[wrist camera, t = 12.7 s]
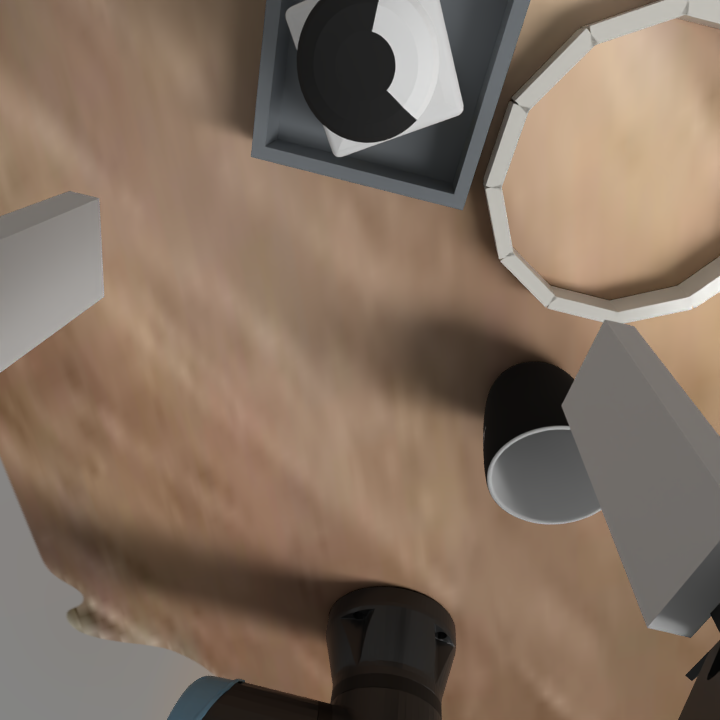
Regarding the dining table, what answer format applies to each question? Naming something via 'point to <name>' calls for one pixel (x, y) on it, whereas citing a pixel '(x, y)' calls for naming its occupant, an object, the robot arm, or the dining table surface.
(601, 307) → the ring holder
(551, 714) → the dining table surface
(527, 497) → the mug
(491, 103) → the tray
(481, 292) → the dining table surface
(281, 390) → the dining table surface
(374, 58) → the medicine bottle
